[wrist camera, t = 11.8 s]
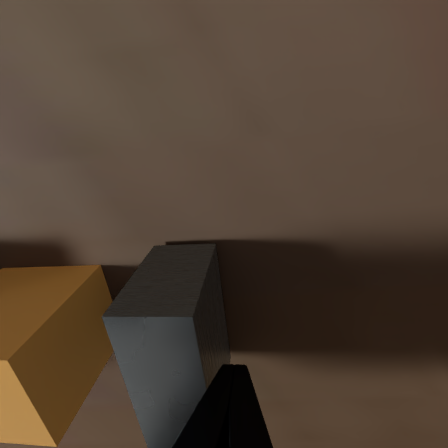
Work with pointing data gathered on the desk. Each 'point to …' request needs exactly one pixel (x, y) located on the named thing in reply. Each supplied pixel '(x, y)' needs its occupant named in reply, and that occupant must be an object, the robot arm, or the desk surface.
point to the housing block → (49, 348)
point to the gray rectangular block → (169, 336)
